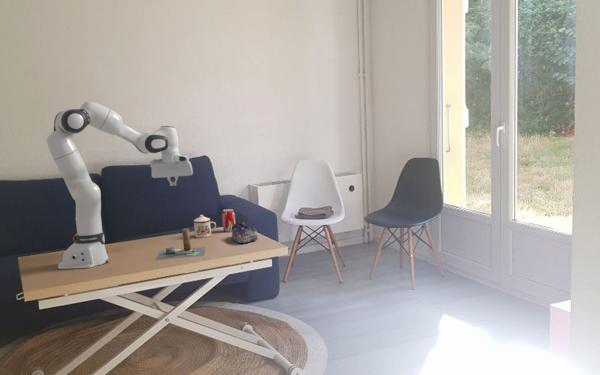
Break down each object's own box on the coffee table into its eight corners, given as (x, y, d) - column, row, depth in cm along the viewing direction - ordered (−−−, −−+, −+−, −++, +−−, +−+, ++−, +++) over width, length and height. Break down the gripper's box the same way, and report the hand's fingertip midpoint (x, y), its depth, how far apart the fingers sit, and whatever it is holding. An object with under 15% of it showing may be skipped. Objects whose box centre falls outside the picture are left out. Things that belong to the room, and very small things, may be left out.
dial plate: (155, 263, 264) (155, 259, 264) (159, 254, 281) (159, 250, 280) (204, 258, 266) (204, 255, 266) (205, 250, 283) (205, 246, 283)
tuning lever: (164, 253, 273) (162, 230, 272) (169, 251, 277) (166, 228, 276) (193, 254, 269) (191, 230, 267) (197, 252, 273) (195, 228, 271)
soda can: (233, 232, 320) (232, 211, 319) (221, 232, 322) (219, 211, 320) (237, 229, 327) (236, 208, 325) (225, 229, 329) (224, 208, 327)
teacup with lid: (196, 238, 310) (194, 217, 308) (193, 235, 318) (191, 214, 317) (218, 235, 314) (216, 214, 312) (215, 232, 322) (213, 212, 321)
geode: (224, 238, 306) (225, 220, 306) (244, 238, 312) (245, 219, 311) (238, 244, 288) (239, 224, 288) (259, 243, 294) (260, 224, 293)
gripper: (148, 160, 285) (151, 188, 287) (190, 157, 288) (193, 184, 289) (150, 159, 291) (153, 186, 293) (191, 156, 294) (193, 183, 296)
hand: (173, 185), depth 291 cm, fingers closed
